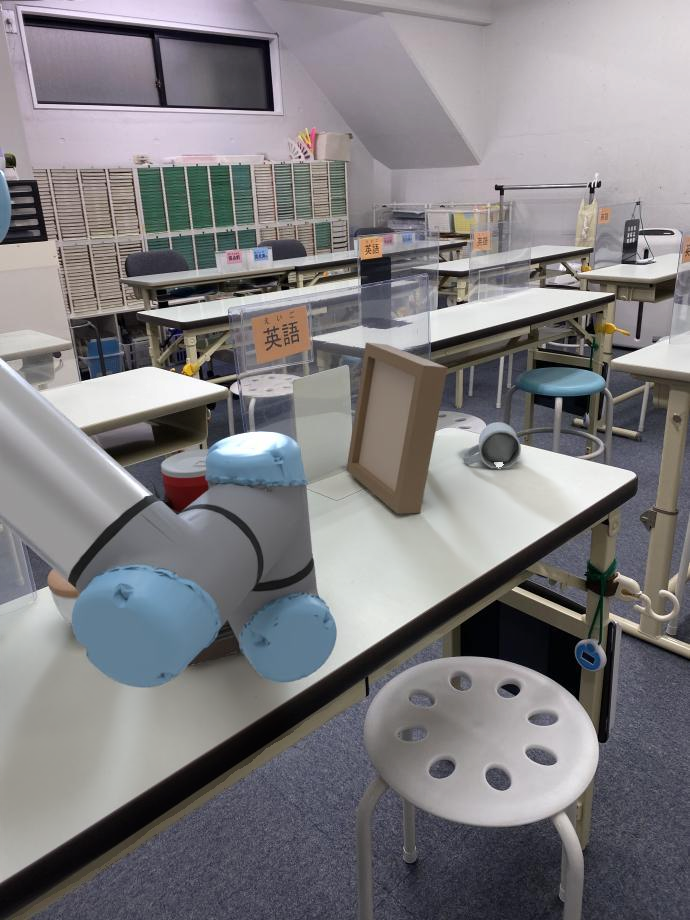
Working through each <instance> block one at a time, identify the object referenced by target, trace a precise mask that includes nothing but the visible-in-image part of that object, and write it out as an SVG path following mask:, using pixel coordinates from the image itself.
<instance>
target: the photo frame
mask: <svg viewBox="0 0 690 920" xmlns="http://www.w3.org/2000/svg"><path fill="white" fill-rule="evenodd" d="M447 373H448V366H444V365H442V364H439V363H437V362H434V361H432V360H429V359H426V358H424V357H421V356H418V355H416V354H413V353H410V352H408V351H405V350H403V349H399V348H398V347H395V346H392V345H389V344H384V343H374V342H365V345H364V351H363V358H362V364H361V371H360V379H359V383H358V384H359V385H358V392H357V396H356V397H357V398H356V405H355V411H354V419H353V422H352V423H353V424H352V429H351V430H352V431H351V437H350V444H349V450H348V456H347V462H346V468H345V470H346V472H348V474H350V475H351V476H352V477H353V478H354V479H356V480H357V481H358V482H359V483H360V484H362V485H363V486H364V487H365V488H366V489H368V490H369V491H370V492H371V494H373V495H374V496H376V498H378V499H379V500H380V501H381V502H383V503H384V504H385V505H387V507H389V508H390V509H391V510H392V511H394V512H395V513H396V514H421V511H422V505H423V501H424V495H425V489H426V484H427V480H428V474H429V468H430V462H431V458H432V452H433V446H434V442H435V437H436V432H437V425H438V420H439V415H440V410H441V405H442V401H443V400H442V399H443V394H444V389H445V383H446V378H447Z"/></svg>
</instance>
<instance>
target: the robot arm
mask: <svg viewBox="0 0 690 920" xmlns="http://www.w3.org/2000/svg"><path fill="white" fill-rule="evenodd" d="M11 219H12V201H11V194H10V189H9V186H8V183H7V179H6V176H5V174H4V172H3V171H2V170H1V169H0V244H1V243H2V242H3V241H4V239H5V237H6V236H7V234H8V231H9V229H10V226H11ZM208 449H209V450H208V454H207V457H206V472H207V473H206V477H205V479H206V481H208V486H209V489H208V491H206V492H205V493H204V494H203V495H201V496H200V497H199V498H198V499H196V500H195V501H194V502H193V503H191V504H190V505H189V506H188V507H186V508H185V509H184V510H182V511H181V512H178V511H175V510H173V509H171V508H170V503H169V500H168V498H167V496H166V494H165V489H163V487H162V484H161V482H155V483H153V484H152V485H153V490H154V493H152V492H151V491H150V490H149V489H148V488H146V486H144V484H142V483H141V482H140V481H139V480H138V479H136V478H135V477H134V476H133V475H132V474H131V473H130V472H128V470H126V468H125V467H123V466H122V465H121V464H120V463H119V462H118V461H116V459H114V458H113V457H112V456H111V455H110V454H108V453H107V452H106V451H105V450H104V449H103V448H102V447H100V445H99V444H97V442H96V441H94V440H93V439H92V438H91V437H90V436H88V435H87V434H86V433H85V432H84V431H83V430H82V429H81V428H80V427H79V426H78V425H76V424H75V423H74V422H73V421H72V420H70V418H68V417H67V416H66V415H65V414H64V413H63V412H62V411H61V410H60V409H58V408H57V407H56V406H55V405H54V404H52V402H50V401H49V400H48V399H47V398H46V397H45V396H44V395H43V394H42V393H41V392H40V391H38V390H37V389H36V388H35V387H34V386H33V385H31V384H30V383H29V382H28V381H27V380H26V379H25V378H24V377H23V376H22V375H20V373H18V372H17V371H16V370H14V368H13V367H11V365H9V364H8V363H7V362H6V361H4V360H3V358H2V357H0V523H1V524H2V525H3V526H4V527H6V528H7V529H8V530H9V531H10V532H11V533H13V535H15V536H16V537H17V538H18V540H20V541H22V542H23V544H24V545H26V546H27V547H28V548H29V549H30V550H32V551H33V552H34V553H35V554H36V555H37V556H39V557H40V558H41V559H42V560H43V561H44V562H45V563H46V564H47V565H49V566H50V568H52V569H54V570H55V571H57V572H58V573H59V574H60V575H61V576H62V577H63V578H64V579H66V580H67V581H68V582H69V583H70V584H71V585H73V586H74V587H75V588H76V590H77V591H78V592H79V593H80V595H79V596H78V598H77V600H76V602H75V604H74V608H73V612H72V624H71V625H72V631H73V634H74V637H75V640H76V642H77V643H79V644H80V645H81V646H84V648H85V650H86V658H87V660H88V661H89V663H90V664H92V665H93V666H94V668H95V669H97V670H98V671H99V672H100V673H102V674H103V675H104V676H106V677H107V678H109V679H111V680H113V681H115V682H117V683H120V684H121V685H125V686H129V687H134V688H141V689H142V688H154V687H158V686H161V685H164V684H166V683H168V682H171V680H173V679H174V678H176V677H177V676H179V675H180V674H181V673H182V672H183V671H184V670H185V669H186V668H187V665H188V664H189V663H190V662H191V661H192V660H193V659H194V658H195V657H196V656H197V655H198V654H199V653H200V652H201V651H202V650H203V649H204V648H206V647H208V646H209V645H210V644H211V643H212V642H213V641H214V640H215V638H216V637H217V634H218V631H219V630H220V628H221V627H222V626H223V625H224V623H225V622H226V621H227V620H228V622H229V624H230V626H231V628H232V630H233V632H234V634H235V636H236V638H237V640H238V642H239V646H240V650H241V651H240V652H241V653H242V655H244V657H245V658H246V659H247V660H248V662H249V663H250V665H251V666H252V668H253V669H254V670H255V671H256V672H257V674H259V675H260V676H261V677H263V678H264V679H266V680H269V681H272V682H275V683H291V682H295V681H299V680H302V679H305V678H307V677H309V676H311V675H312V674H314V673H316V672H317V671H318V670H319V669H321V668H322V666H323V665H324V664H326V662H327V661H328V659H329V658H330V656H331V655H332V654H333V653H332V652H333V650H334V648H335V646H336V641H337V638H338V637H337V635H338V631H337V625H336V621H335V619H334V616H333V614H332V613H331V611H330V607H329V606H328V604H327V602H326V601H325V600H324V599H323V598H322V597H320V595H319V592H318V586H317V573H316V566H315V559H314V553H313V547H312V546H313V544H312V534H311V533H312V531H311V523H310V522H311V521H310V512H309V499H308V489H307V486H308V485H309V481H308V479H307V478H306V474H305V469H304V468H305V467H304V461H303V457H302V451H301V448H300V445H299V444H298V442H297V441H296V440H294V439H293V438H292V437H290V436H289V435H286V434H283V433H279V432H275V431H274V432H273V431H252V432H251V431H250V432H244V433H238V434H234V435H230V436H228V437H225V438H223V439H221V440H218V441H217V442H215V443H213V445H212V446H211V447H209V448H208Z"/></svg>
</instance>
